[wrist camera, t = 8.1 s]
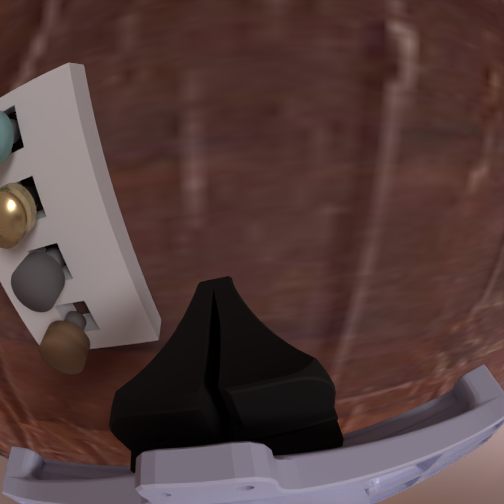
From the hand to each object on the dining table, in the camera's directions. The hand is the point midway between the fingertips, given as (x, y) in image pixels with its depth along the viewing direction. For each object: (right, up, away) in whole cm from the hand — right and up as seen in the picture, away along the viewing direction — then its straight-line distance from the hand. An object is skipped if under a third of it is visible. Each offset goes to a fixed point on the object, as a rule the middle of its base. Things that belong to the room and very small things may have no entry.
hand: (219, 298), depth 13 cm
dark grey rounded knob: (-13, +2, +7) cm, 15 cm away
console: (-14, +4, +7) cm, 16 cm away
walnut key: (-12, -3, +8) cm, 15 cm away
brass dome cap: (-14, +6, +4) cm, 16 cm away
